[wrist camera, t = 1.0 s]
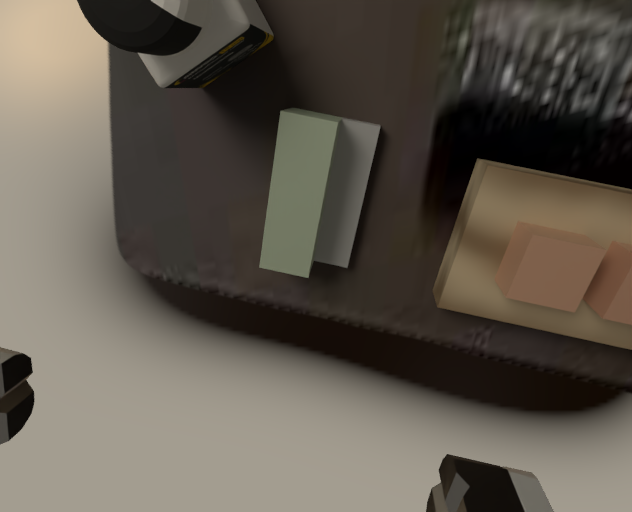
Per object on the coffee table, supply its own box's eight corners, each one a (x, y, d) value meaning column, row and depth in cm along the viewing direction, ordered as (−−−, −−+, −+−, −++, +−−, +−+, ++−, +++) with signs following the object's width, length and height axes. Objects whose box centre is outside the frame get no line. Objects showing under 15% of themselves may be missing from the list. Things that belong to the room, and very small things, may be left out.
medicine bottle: (202, 89, 32) (114, 90, 21) (147, -1, 30) (19, -51, 19) (276, 38, 30) (222, 10, 19) (223, -62, 28) (129, -158, 17)
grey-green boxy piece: (293, 107, 32) (280, 110, 27) (380, 124, 32) (381, 131, 27) (273, 244, 37) (259, 267, 32) (348, 261, 36) (344, 286, 32)
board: (477, 158, 31) (487, 165, 29) (738, 211, 31) (774, 223, 28) (432, 290, 36) (437, 307, 33) (656, 339, 35) (680, 360, 33)
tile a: (517, 221, 30) (532, 234, 27) (585, 235, 30) (607, 250, 27) (494, 279, 32) (505, 297, 29) (557, 293, 32) (574, 312, 29)
